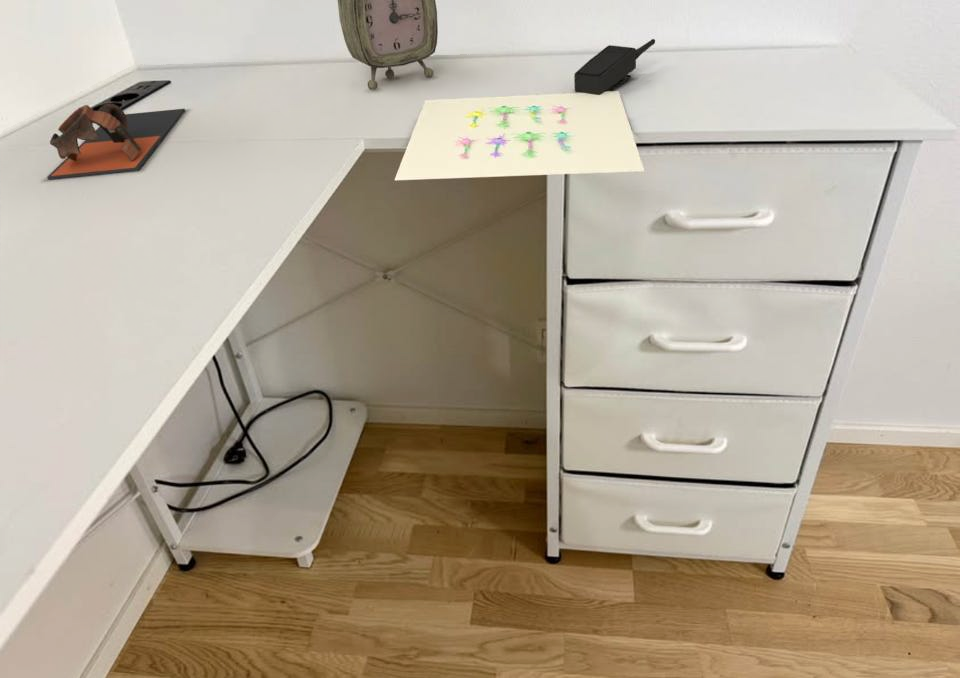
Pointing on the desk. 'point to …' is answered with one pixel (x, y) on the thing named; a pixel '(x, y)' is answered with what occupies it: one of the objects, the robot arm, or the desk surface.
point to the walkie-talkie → (608, 69)
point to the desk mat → (107, 154)
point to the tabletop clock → (389, 33)
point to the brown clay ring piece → (83, 129)
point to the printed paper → (520, 137)
